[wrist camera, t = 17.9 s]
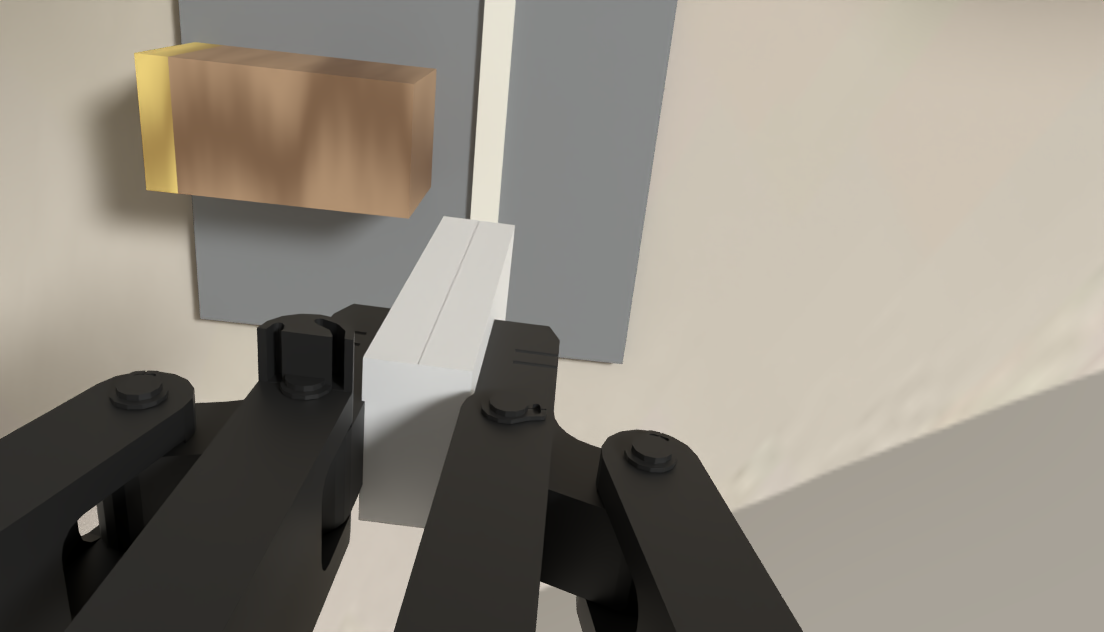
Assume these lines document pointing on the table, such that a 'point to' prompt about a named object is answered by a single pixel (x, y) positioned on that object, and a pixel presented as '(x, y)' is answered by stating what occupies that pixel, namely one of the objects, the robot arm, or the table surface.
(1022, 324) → the table surface
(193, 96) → the block
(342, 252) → the mat
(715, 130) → the table surface
